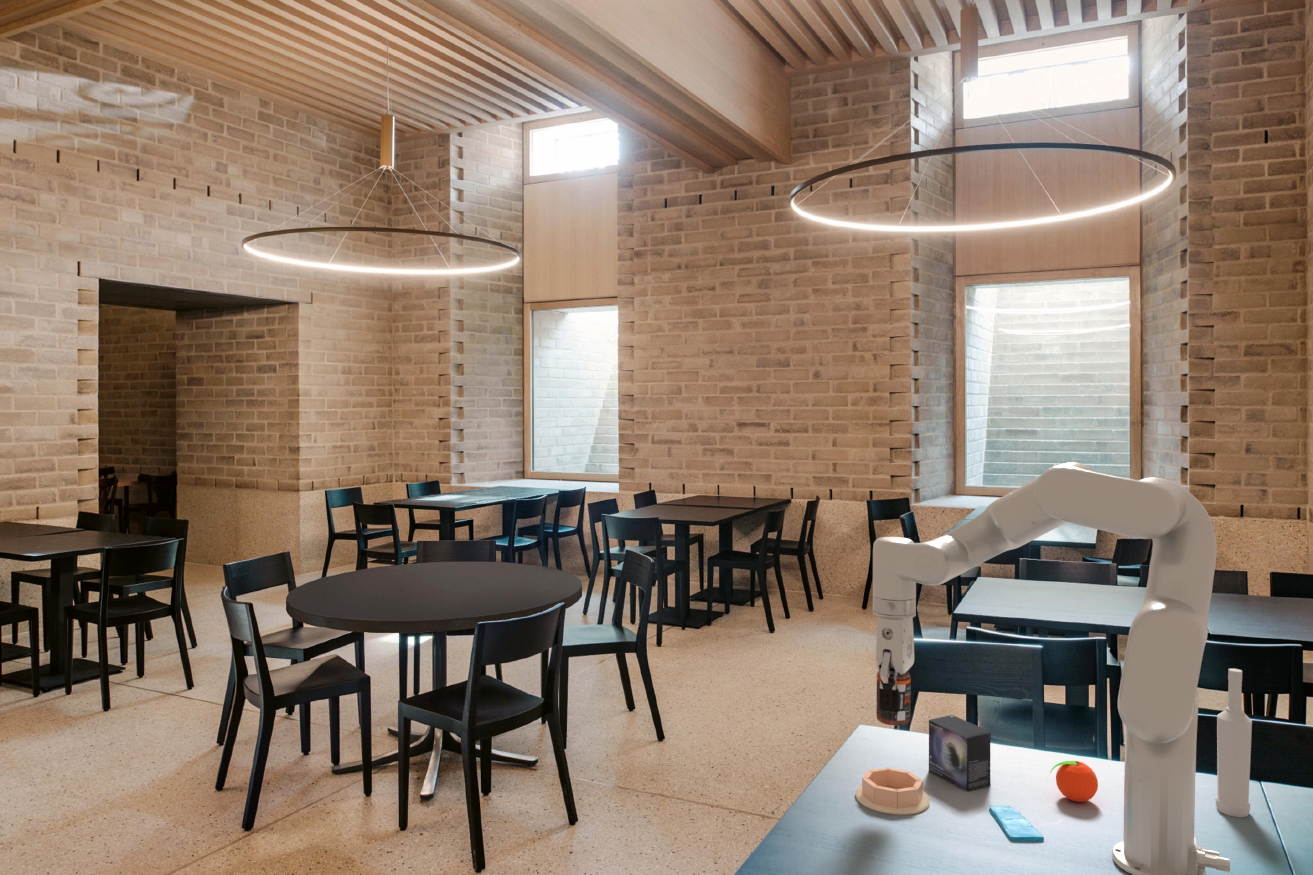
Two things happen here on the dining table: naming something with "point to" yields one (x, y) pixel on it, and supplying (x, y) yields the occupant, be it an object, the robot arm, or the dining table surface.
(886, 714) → the supplement bottle
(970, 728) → the small box
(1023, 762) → the dining table surface
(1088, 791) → the clementine
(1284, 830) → the dining table surface
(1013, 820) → the sponge
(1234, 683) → the bottle
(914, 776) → the cup holder
